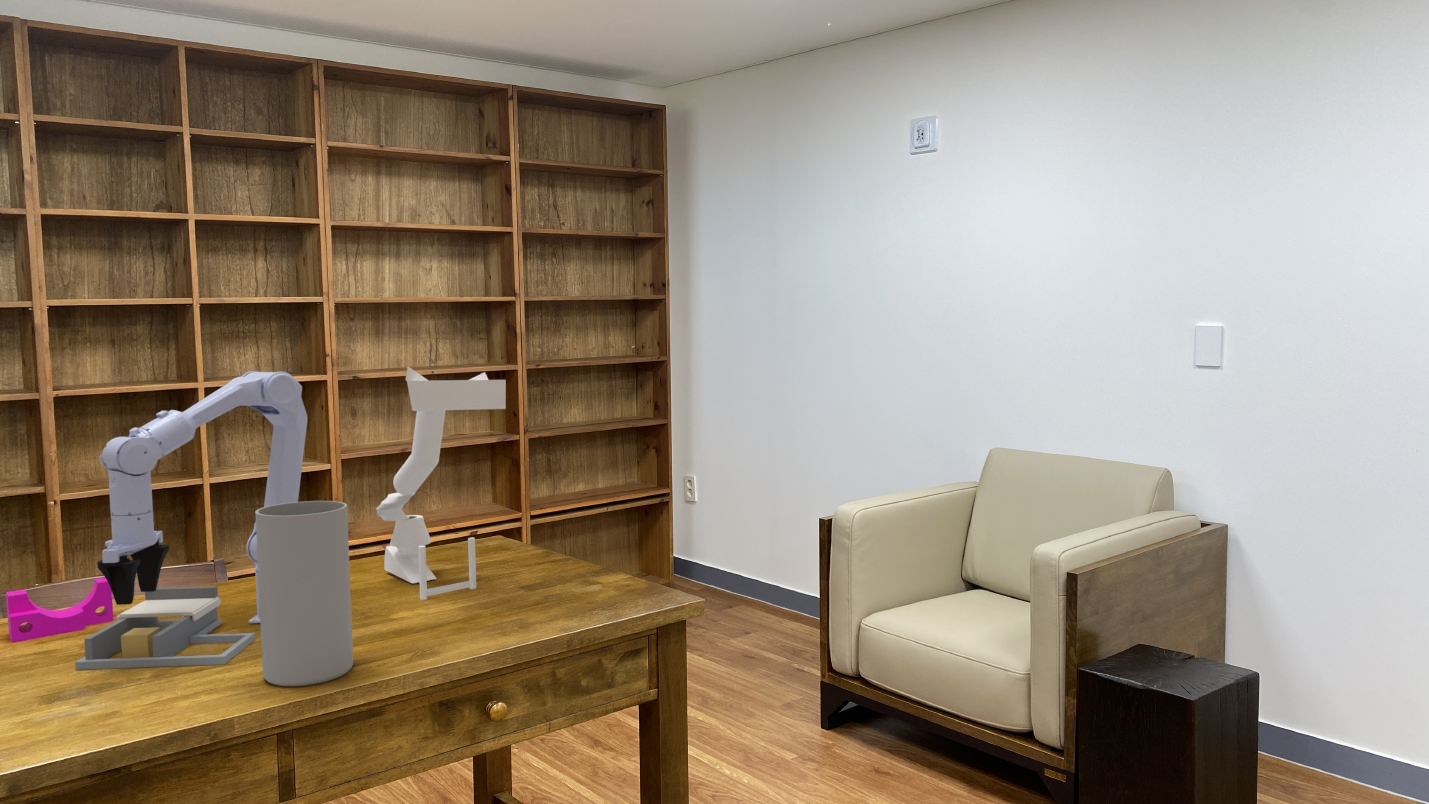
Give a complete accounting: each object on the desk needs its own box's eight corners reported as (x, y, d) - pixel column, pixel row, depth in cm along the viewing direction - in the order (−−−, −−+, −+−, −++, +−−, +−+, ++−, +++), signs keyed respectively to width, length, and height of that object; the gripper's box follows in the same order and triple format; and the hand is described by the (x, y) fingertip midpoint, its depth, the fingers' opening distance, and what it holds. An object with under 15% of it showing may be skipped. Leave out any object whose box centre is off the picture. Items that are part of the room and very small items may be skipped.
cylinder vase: (367, 672, 146) (361, 507, 144) (282, 695, 137) (274, 519, 135) (332, 653, 155) (326, 498, 153) (250, 673, 146) (242, 508, 144)
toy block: (11, 643, 163) (8, 599, 162) (8, 634, 168) (5, 592, 167) (115, 625, 172) (113, 583, 172) (110, 617, 177) (107, 577, 177)
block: (161, 651, 157) (160, 627, 157) (148, 659, 153) (147, 634, 153) (135, 652, 157) (134, 628, 157) (122, 660, 153) (120, 635, 153)
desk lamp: (338, 584, 198) (329, 363, 194) (423, 569, 210) (415, 360, 207) (419, 624, 170) (410, 366, 167) (512, 603, 182) (505, 363, 179)
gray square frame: (276, 623, 172) (275, 598, 171) (224, 664, 150) (223, 635, 150) (146, 627, 170) (145, 602, 170) (75, 669, 149) (73, 640, 148)
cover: (220, 604, 171) (219, 585, 170) (195, 620, 161) (194, 601, 161) (147, 606, 170) (146, 588, 169) (116, 623, 160) (115, 603, 160)
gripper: (129, 505, 160) (134, 586, 161) (79, 522, 146) (84, 611, 147) (174, 504, 161) (178, 585, 162) (128, 521, 146) (133, 609, 147)
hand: (136, 597), depth 154 cm, fingers open, 7 cm apart
